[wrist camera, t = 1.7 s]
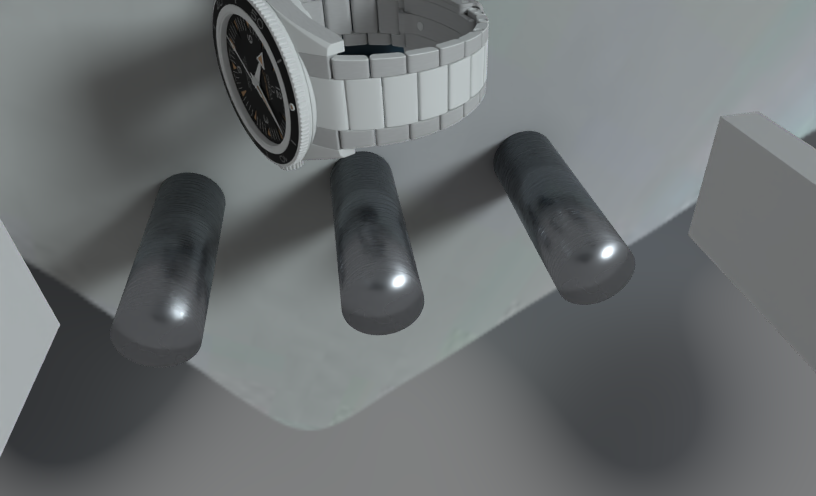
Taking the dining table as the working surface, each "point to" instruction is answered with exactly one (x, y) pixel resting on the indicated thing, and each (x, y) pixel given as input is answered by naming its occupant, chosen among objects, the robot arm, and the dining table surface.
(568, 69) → the dining table surface
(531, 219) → the post field
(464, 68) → the watch
